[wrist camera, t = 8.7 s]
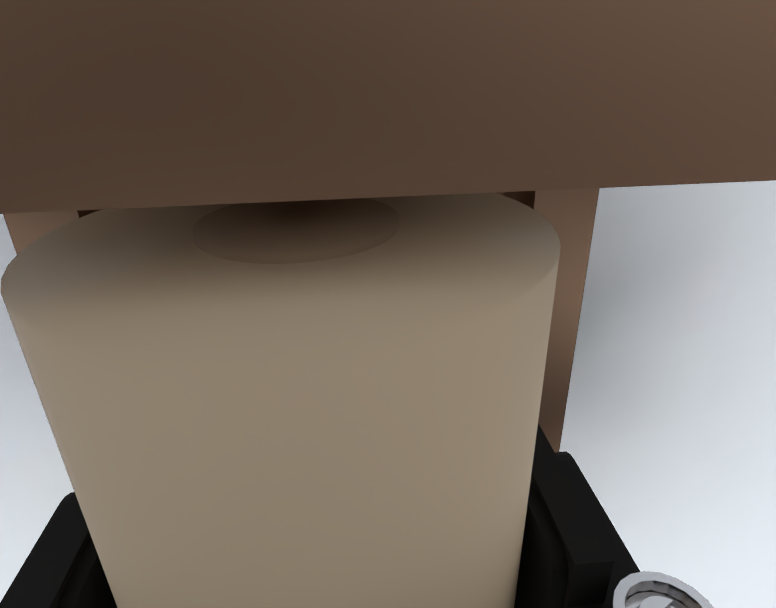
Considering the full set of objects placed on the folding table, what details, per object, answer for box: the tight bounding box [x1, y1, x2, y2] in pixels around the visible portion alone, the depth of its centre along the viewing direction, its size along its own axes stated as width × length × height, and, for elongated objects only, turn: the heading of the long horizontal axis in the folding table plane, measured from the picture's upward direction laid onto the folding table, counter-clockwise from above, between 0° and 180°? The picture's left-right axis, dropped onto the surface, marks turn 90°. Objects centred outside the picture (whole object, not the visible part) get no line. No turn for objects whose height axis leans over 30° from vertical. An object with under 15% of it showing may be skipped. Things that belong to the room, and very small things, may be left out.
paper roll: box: [1, 192, 561, 608], centre depth 9 cm, size 11×6×6 cm, turn 1°
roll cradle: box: [0, 0, 776, 452], centre depth 10 cm, size 16×10×8 cm, turn 1°
